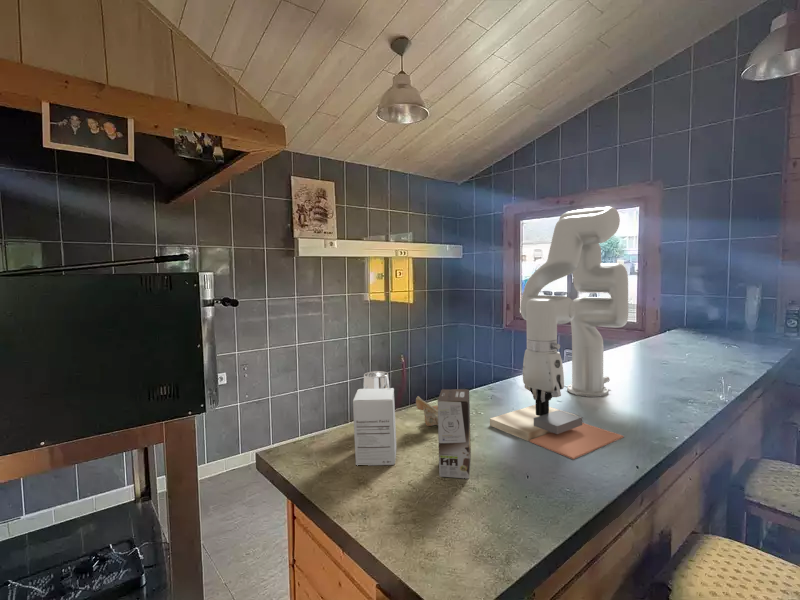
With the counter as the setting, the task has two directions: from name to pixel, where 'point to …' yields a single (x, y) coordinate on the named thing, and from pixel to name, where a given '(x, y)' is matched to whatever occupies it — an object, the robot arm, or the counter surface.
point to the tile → (558, 421)
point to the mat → (577, 440)
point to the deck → (520, 423)
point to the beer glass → (376, 380)
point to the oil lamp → (428, 412)
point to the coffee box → (454, 433)
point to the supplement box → (374, 427)
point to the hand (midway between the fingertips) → (542, 414)
